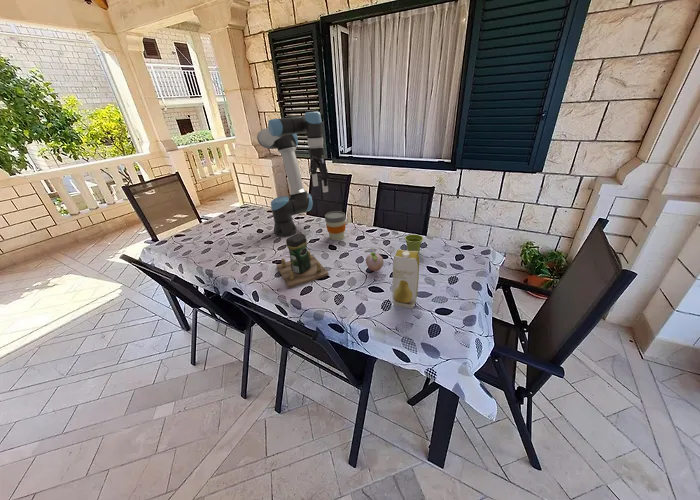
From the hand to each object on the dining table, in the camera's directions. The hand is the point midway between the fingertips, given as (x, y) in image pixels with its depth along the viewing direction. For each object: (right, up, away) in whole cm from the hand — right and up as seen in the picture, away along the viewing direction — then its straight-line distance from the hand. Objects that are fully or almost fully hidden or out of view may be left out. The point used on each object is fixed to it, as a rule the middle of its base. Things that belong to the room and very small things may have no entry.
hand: (320, 189), depth 144 cm
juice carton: (+38, -54, -34) cm, 74 cm away
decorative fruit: (+28, -43, -11) cm, 52 cm away
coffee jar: (-9, -42, -8) cm, 44 cm away
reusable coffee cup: (+8, -25, +26) cm, 36 cm away
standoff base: (-9, -43, -8) cm, 45 cm away
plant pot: (+50, -34, +2) cm, 61 cm away
